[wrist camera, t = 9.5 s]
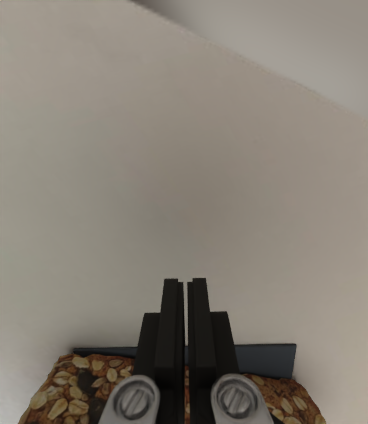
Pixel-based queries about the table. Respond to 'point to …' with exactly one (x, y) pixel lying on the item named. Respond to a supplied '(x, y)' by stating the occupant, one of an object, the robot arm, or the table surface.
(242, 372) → the corner pad
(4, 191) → the table surface
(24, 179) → the table surface
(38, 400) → the bread
